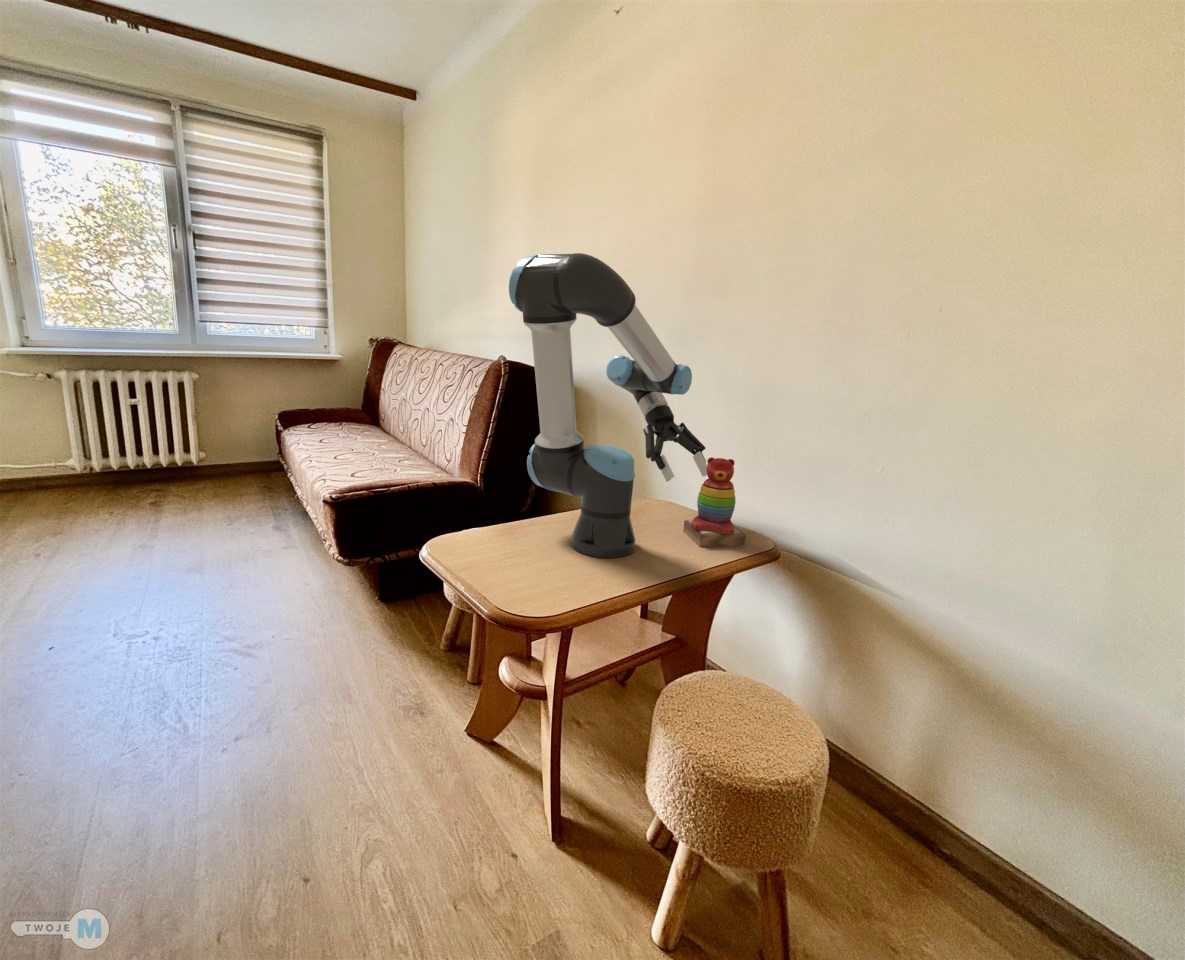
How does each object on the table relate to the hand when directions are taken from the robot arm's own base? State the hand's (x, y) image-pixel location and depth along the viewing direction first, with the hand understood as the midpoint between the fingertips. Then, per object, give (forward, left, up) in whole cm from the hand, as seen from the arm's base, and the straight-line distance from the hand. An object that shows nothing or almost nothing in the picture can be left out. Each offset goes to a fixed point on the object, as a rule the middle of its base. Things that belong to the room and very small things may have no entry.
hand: (689, 476), depth 145 cm
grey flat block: (+4, -10, -14) cm, 17 cm away
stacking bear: (+4, -10, -11) cm, 15 cm away
